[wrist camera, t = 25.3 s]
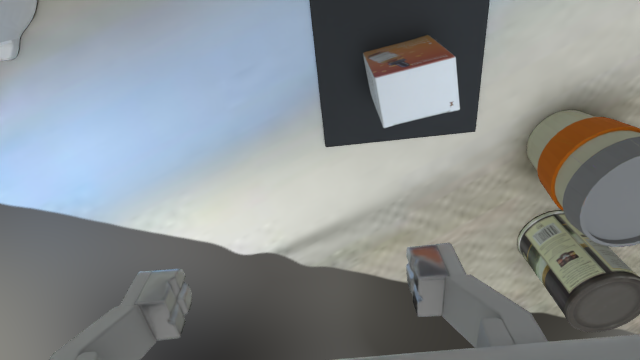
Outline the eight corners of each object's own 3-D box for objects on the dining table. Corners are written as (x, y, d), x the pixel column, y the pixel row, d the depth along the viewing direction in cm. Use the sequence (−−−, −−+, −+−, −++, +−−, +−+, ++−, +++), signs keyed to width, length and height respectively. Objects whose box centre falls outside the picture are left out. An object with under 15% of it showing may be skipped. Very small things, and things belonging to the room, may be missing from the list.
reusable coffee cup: (546, 195, 57) (614, 265, 44) (494, 146, 53) (553, 209, 40) (626, 135, 52) (728, 194, 40) (576, 76, 48) (672, 122, 35)
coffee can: (557, 266, 65) (614, 339, 53) (504, 252, 63) (550, 324, 51) (598, 219, 60) (671, 287, 48) (542, 202, 58) (602, 269, 46)
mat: (325, 145, 52) (325, 147, 52) (307, -19, 42) (307, -19, 42) (473, 129, 52) (475, 131, 51) (491, -41, 41) (494, -41, 41)
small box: (428, 33, 45) (458, 54, 36) (433, 80, 47) (462, 110, 38) (361, 51, 46) (373, 76, 37) (369, 96, 48) (383, 129, 39)
